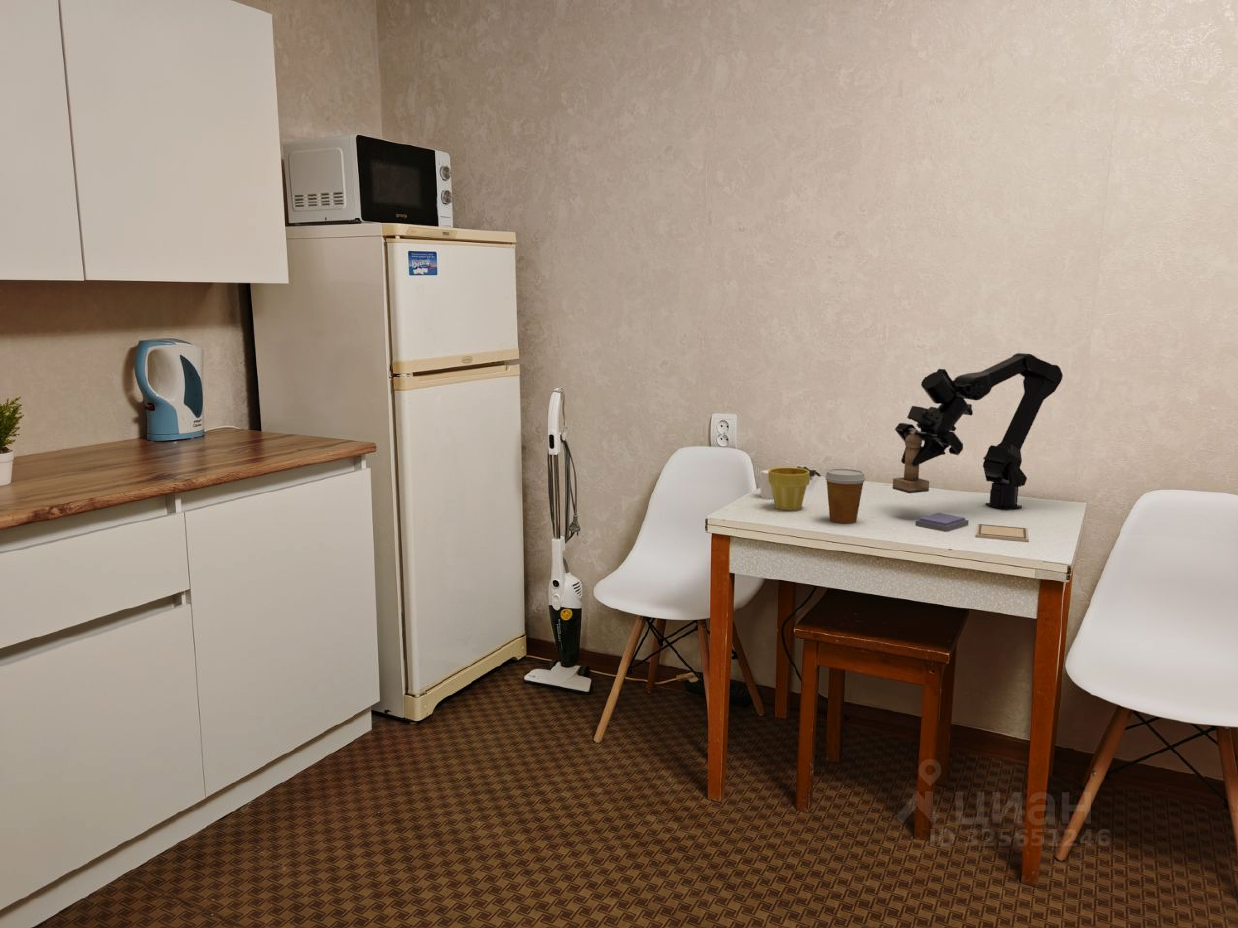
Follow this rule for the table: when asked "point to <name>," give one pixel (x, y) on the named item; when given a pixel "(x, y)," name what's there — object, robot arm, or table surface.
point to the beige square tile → (1002, 532)
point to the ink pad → (942, 522)
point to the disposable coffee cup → (844, 494)
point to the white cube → (765, 485)
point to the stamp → (911, 469)
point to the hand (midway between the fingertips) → (907, 463)
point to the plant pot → (788, 487)
